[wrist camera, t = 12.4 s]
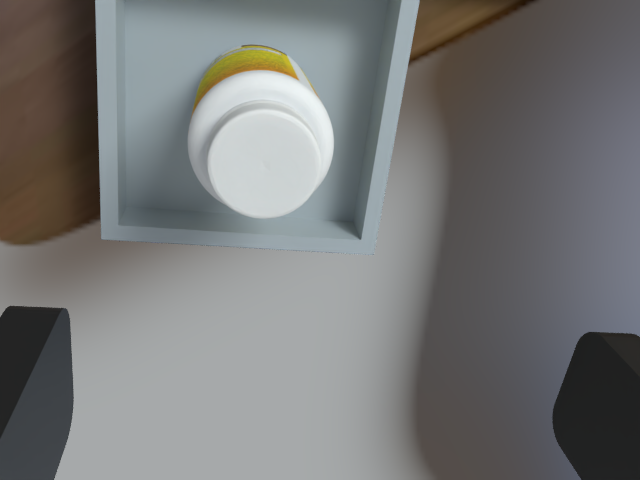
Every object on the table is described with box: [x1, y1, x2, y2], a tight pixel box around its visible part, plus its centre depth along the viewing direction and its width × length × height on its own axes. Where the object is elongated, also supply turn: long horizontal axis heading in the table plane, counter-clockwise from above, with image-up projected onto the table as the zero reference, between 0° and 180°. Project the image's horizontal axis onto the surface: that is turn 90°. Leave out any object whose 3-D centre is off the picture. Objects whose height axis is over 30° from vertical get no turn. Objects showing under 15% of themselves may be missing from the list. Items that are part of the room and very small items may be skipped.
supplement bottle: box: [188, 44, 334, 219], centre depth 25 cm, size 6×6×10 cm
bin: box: [95, 0, 420, 255], centre depth 29 cm, size 14×14×3 cm
